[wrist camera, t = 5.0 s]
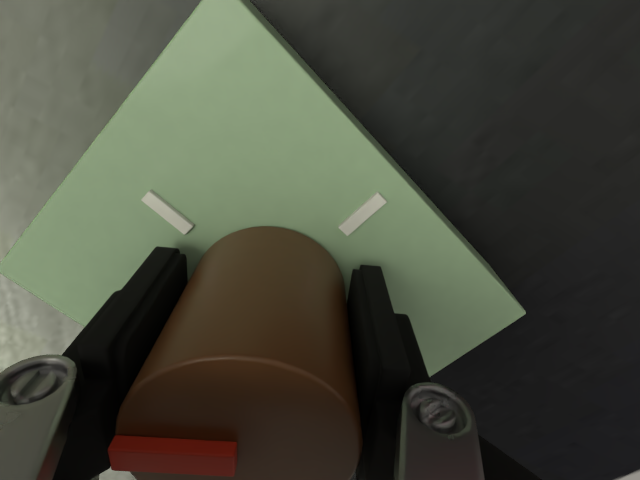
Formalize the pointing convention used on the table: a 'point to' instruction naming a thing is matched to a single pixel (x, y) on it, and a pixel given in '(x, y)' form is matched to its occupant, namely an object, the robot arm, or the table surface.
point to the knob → (248, 371)
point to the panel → (252, 188)
